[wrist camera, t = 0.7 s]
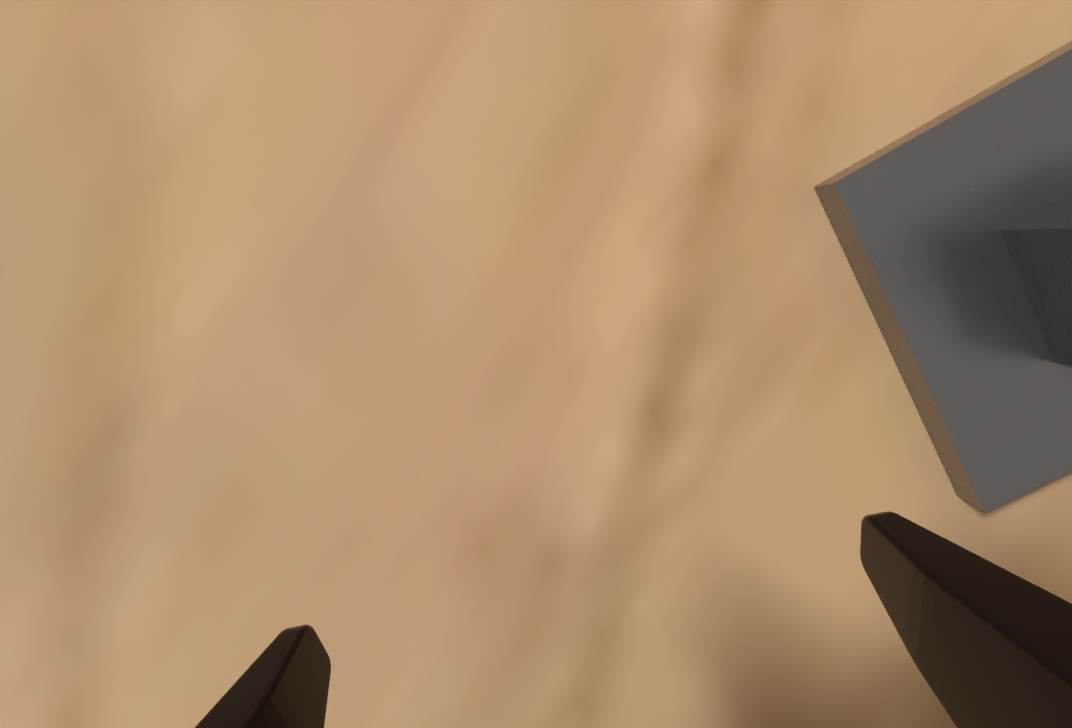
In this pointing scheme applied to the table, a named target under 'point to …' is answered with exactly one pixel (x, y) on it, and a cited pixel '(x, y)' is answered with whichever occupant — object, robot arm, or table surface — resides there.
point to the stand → (976, 276)
